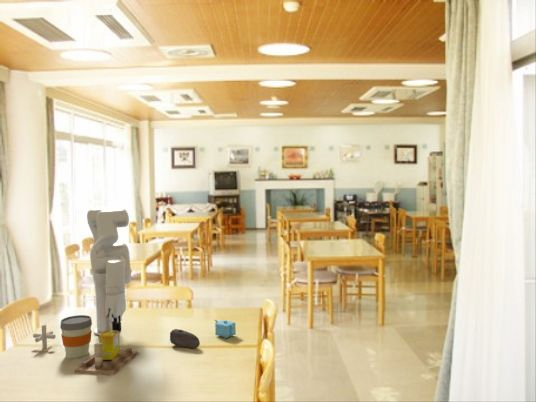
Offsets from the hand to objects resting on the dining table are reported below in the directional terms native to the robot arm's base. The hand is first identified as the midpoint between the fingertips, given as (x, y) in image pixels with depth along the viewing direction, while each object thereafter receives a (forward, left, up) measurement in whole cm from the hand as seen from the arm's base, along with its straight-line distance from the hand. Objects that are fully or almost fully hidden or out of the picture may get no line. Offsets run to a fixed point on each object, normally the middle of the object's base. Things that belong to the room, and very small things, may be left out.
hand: (116, 331), depth 207 cm
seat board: (+9, +1, -10) cm, 14 cm away
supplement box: (+8, +1, -9) cm, 12 cm away
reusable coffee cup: (+2, -17, -10) cm, 20 cm away
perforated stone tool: (-13, +26, -10) cm, 30 cm away
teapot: (-29, +39, -10) cm, 49 cm away
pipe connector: (-3, -36, -10) cm, 38 cm away
